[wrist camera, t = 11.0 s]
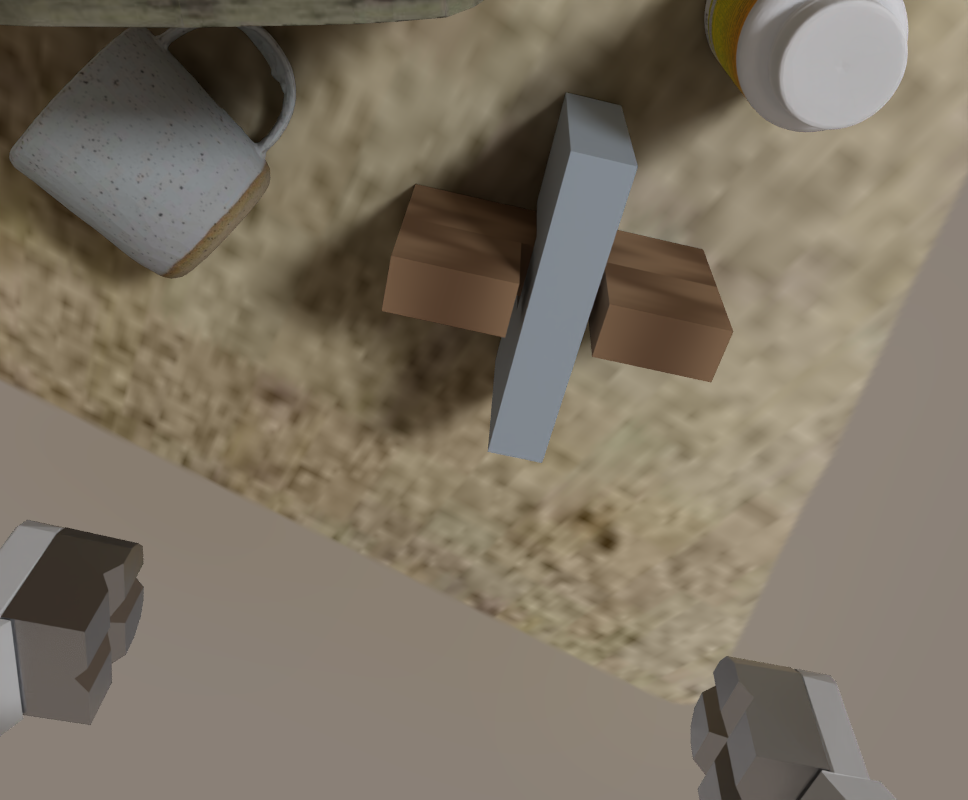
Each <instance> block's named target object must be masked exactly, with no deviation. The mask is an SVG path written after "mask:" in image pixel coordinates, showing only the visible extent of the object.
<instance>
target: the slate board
mask: <svg viewBox="0 0 968 800" xmlns="http://www.w3.org/2000/svg"><path fill="white" fill-rule="evenodd" d="M637 168H638V166H637V162H636V158H635V154H634V151H633V147H632V143H631V140H630V136H629V132H628V129H627V125H626V121H625V118H624V114H623V110H622V106H621V105H617V104H613V103H608V102H604V101H600V100H596V99H592V98H587V97H583V96H579V95H575V94H571V93H567V92H566V94H565V98H564V102H563V105H562V109H561V113H560V117H559V121H558V124H557V128H556V132H555V136H554V140H553V143H552V147H551V151H550V155H549V159H548V162H547V166H546V170H545V174H544V178H543V181H542V185H541V189H540V193H539V197H538V200H537V237H536V241H535V244H534V248H533V252H532V255H531V259H530V263H529V267H528V270H527V274H526V278H525V281H524V285H523V289H522V293H521V296H517V295H516V299H515V302H514V306H513V310H512V314H511V317H510V321H509V325H508V329H507V332H506V336H505V338H504V337H501V341H500V345H499V349H498V352H497V356H496V361H495V373H494V385H493V397H492V409H491V420H490V432H489V444H488V452H492V453H497V454H502V455H506V456H511V457H516V458H521V459H526V460H531V461H535V462H540V463H542V461H543V458H544V455H545V452H546V449H547V446H548V443H549V440H550V437H551V433H552V430H553V427H554V424H555V421H556V418H557V415H558V412H559V409H560V406H561V403H562V399H563V396H564V393H565V390H566V387H567V384H568V381H569V378H570V375H571V372H572V369H573V365H574V362H575V359H576V356H577V353H578V350H579V347H580V344H581V341H582V338H583V335H584V331H585V328H586V325H587V322H588V319H589V316H590V313H591V310H592V307H593V304H594V301H595V297H596V294H597V291H598V288H599V285H600V282H601V279H602V276H603V273H604V270H605V267H606V263H607V260H608V257H609V254H610V251H611V248H612V245H613V242H614V239H615V236H616V232H617V229H618V226H619V223H620V220H621V217H622V214H623V211H624V208H625V205H626V202H627V198H628V195H629V192H630V189H631V186H632V183H633V180H634V177H635V174H636V171H637Z"/></svg>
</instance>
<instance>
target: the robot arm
mask: <svg viewBox="0 0 968 800" xmlns="http://www.w3.org/2000/svg"><path fill="white" fill-rule="evenodd" d="M142 565H143V546H142V545H140V544H139V543H135V542H130V541H125V540H121V539H116V538H112V537H107V536H103V535H98V534H93V533H89V532H84V531H80V530H75V529H70V528H66V527H65V528H64V527H59V526H54V525H50V524H45V523H40V522H35V521H31V520H26V521H25V522H23V523H22V524H20V525H19V526H17V527H16V528H15V529H14V531H13V532H12V533H11V535H10V536H9V537H8V539H7V540H6V542H5V543H4V544H3V546H2V547H1V548H0V736H1V735H2V734H4V733H5V732H6V731H8V730H9V729H10V728H12V727H13V726H14V725H16V724H17V723H18V722H20V721H21V720H22V719H23V715H27V716H34V717H41V718H47V719H55V720H61V721H68V722H74V723H81V724H88V725H91V723H92V721H93V719H94V717H95V715H96V713H97V711H98V709H99V707H100V705H101V703H102V701H103V699H104V697H105V695H106V693H107V691H108V689H109V687H110V685H111V683H112V663H113V662H115V661H116V660H118V659H120V658H121V657H123V656H124V655H126V653H127V651H128V649H129V647H130V644H131V643H132V640H133V638H134V636H135V633H136V630H137V626H138V623H139V620H140V617H141V612H142V606H143V594H144V592H143V590H144V587H143V586H142V584H141V583H140V582H139V581H138V579H137V578H136V577H137V575H138V573H139V571H140V569H141V567H142ZM713 674H714V679H715V684H716V686H714V687H712V688H710V689H708V690H706V691H704V692H702V694H701V696H700V698H699V700H698V702H697V704H696V706H695V708H694V713H693V718H692V723H691V748H692V754H693V760H694V761H695V762H696V763H697V764H698V766H699V767H700V768H701V770H702V771H703V772H704V774H705V775H706V776H705V777H704V779H703V781H702V783H701V784H700V786H699V788H698V792H699V799H700V800H897V799H896V798H895V797H894V796H893V795H892V793H891V792H890V791H888V789H887V788H886V787H885V786H884V785H883V784H882V783H881V782H880V781H876V780H871V779H870V778H869V775H868V772H867V770H866V767H865V764H864V761H863V758H862V755H861V752H860V749H859V746H858V743H857V741H856V738H855V735H854V732H853V729H852V726H851V724H850V721H849V718H848V715H847V712H846V709H845V706H844V703H843V700H842V697H841V695H840V692H839V689H838V686H837V683H836V681H835V680H834V679H833V678H832V677H831V676H830V675H827V674H821V673H816V672H811V671H805V670H800V669H792V668H791V667H785V666H779V665H774V664H768V663H763V662H757V661H752V660H746V659H741V658H735V657H730V656H726V657H725V658H723V659H722V660H721V661H720V662H719V664H718V665H717V667H716V669H715V670H714V672H713Z"/></svg>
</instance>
